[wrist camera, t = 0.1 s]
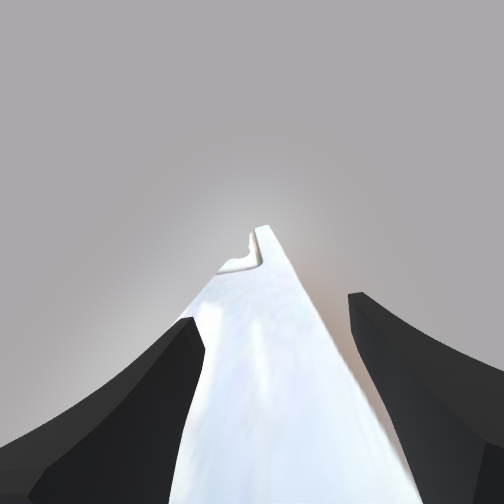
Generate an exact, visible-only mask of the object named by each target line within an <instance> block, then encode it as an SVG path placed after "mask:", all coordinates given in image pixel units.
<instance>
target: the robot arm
mask: <svg viewBox="0 0 504 504" xmlns="http://www.w3.org/2000/svg"><path fill="white" fill-rule="evenodd" d="M348 302H349V313H350V323H351V332H352V335H353V338H354V341H355V344H356V346H357V349H358V352H359V354H360V356H361V358H362V360H363V362H364V364H365V366H366V368H367V370H368V372H369V374H370V376H371V378H372V380H373V382H374V384H375V386H376V388H377V390H378V392H379V394H380V396H381V398H382V400H383V402H384V405H385V407H386V409H387V411H388V413H389V416H390V418H391V420H392V423H393V425H394V428H395V430H396V433H397V435H398V438H399V441H400V443H401V445H402V448H403V451H404V454H405V456H406V459H407V462H408V464H409V467H410V469H411V472H412V474H413V477H414V480H415V483H416V485H417V488H418V491H419V494H420V496H421V499H422V502H423V504H504V371H501V370H499V369H497V368H494V367H492V366H489V365H487V364H485V363H483V362H481V361H478V360H476V359H474V358H471V357H469V356H467V355H465V354H463V353H461V352H459V351H456V350H455V349H452V348H451V347H449V346H447V345H445V344H443V343H441V342H439V341H437V340H435V339H433V338H431V337H430V336H428V335H426V334H424V333H422V332H421V331H419V330H417V329H416V328H414V327H413V326H411V325H409V324H408V323H406V322H404V321H403V320H401V319H400V318H398V317H397V316H395V315H394V314H392V313H391V312H390V311H388V310H387V309H385V308H384V307H382V306H381V305H380V304H378V303H377V302H375V301H374V300H373V299H371V298H370V297H369V296H367V295H366V294H364V293H363V292H360V293H353V294H348ZM204 355H205V347H204V344H203V342H202V339H201V336H200V334H199V331H198V329H197V326H196V323H195V321H194V318H193V317H188V318H181V319H180V320H179V321H177V322H176V323H175V324H174V325H173V326H172V327H171V328H170V329H169V330H167V331H166V332H165V333H164V334H163V335H162V336H161V337H160V338H159V339H158V340H157V341H156V342H155V343H154V344H153V345H151V346H150V347H149V348H148V349H147V350H146V351H145V352H144V353H143V354H142V355H140V356H139V357H138V358H137V359H136V360H135V361H133V362H132V363H131V364H130V365H129V366H128V367H127V368H125V369H124V370H123V371H122V372H120V373H119V374H118V375H117V376H115V377H114V378H113V379H111V380H110V381H109V382H107V383H106V384H105V385H103V386H102V387H101V388H99V389H98V390H96V391H95V392H93V393H92V394H90V395H89V396H88V397H86V398H85V399H83V400H82V401H80V402H79V403H77V404H76V405H74V406H73V407H71V408H70V409H68V410H66V411H65V412H63V413H62V414H60V415H58V416H57V417H55V418H53V419H52V420H50V421H48V422H47V423H45V424H43V425H41V426H40V427H38V428H36V429H34V430H33V431H31V432H29V433H27V434H26V435H24V436H22V437H20V438H18V439H16V440H14V441H12V442H10V443H8V444H7V445H5V446H3V447H1V448H0V504H168V503H169V497H170V492H171V486H172V481H173V476H174V471H175V466H176V460H177V456H178V451H179V447H180V442H181V438H182V433H183V429H184V426H185V422H186V419H187V415H188V412H189V409H190V406H191V403H192V400H193V397H194V393H195V390H196V387H197V384H198V381H199V378H200V374H201V371H202V366H203V361H204Z"/></svg>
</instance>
